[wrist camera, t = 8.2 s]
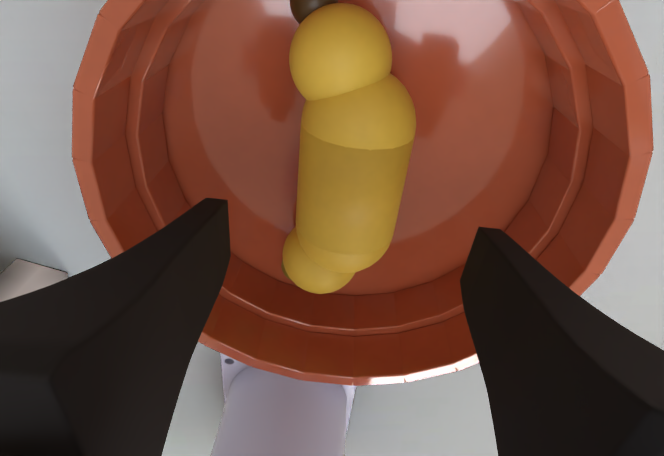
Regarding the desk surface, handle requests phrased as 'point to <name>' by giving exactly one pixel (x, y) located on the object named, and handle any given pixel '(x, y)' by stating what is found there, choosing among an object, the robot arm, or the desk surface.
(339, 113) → the banana
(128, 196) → the bowl
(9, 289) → the toy llama
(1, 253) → the desk surface
